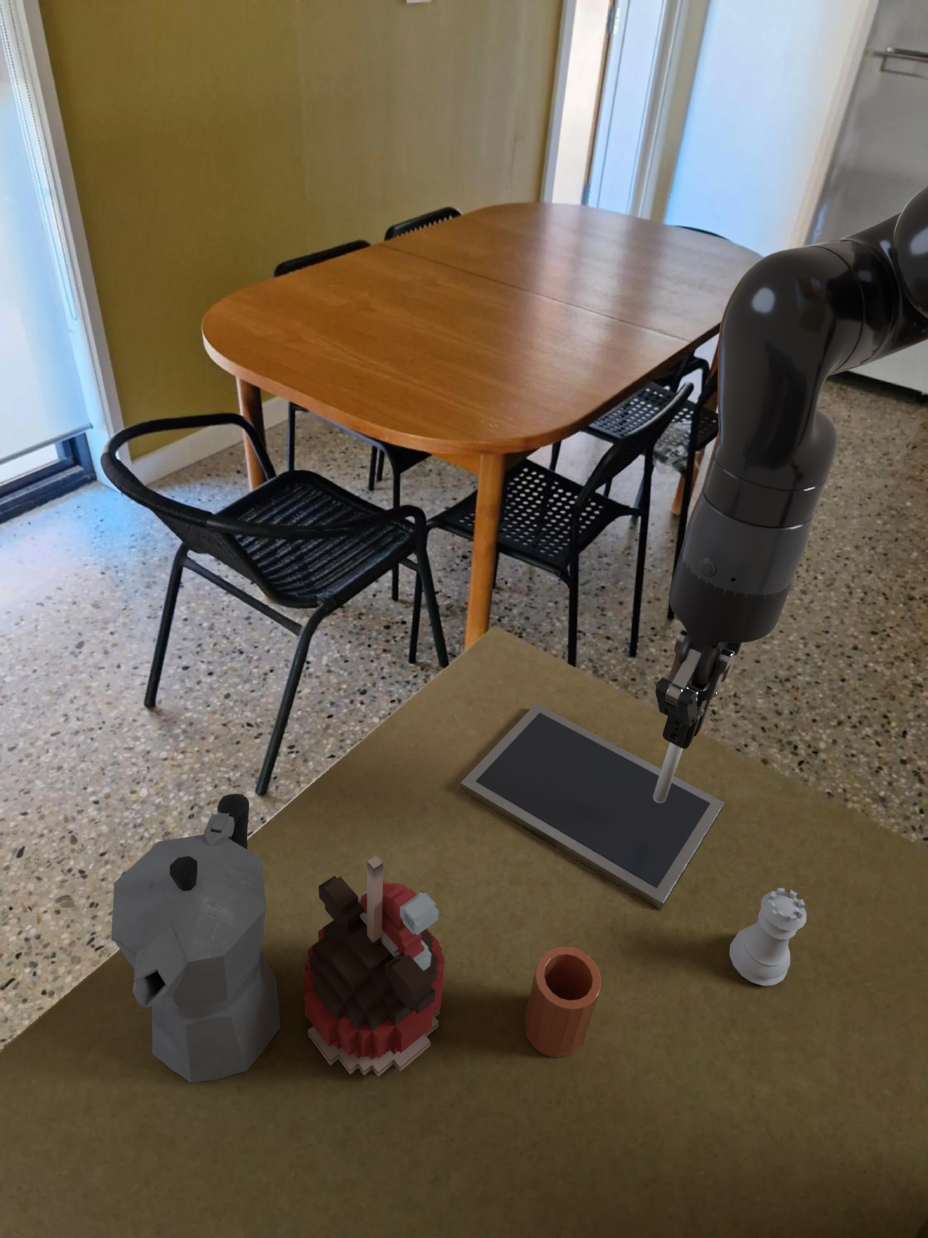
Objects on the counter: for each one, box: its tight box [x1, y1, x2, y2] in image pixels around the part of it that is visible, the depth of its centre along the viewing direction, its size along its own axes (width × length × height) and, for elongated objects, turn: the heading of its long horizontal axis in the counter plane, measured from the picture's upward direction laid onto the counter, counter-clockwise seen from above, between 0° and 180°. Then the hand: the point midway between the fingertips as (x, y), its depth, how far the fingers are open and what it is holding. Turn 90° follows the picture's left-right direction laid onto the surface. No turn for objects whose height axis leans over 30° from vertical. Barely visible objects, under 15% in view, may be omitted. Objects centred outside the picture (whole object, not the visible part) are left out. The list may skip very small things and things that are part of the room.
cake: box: [301, 854, 446, 1078], centre depth 58 cm, size 11×9×18 cm
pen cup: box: [523, 945, 602, 1059], centre depth 62 cm, size 4×4×7 cm
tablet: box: [459, 703, 725, 910], centre depth 80 cm, size 20×13×1 cm, turn 55°
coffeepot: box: [110, 793, 282, 1084], centre depth 58 cm, size 15×9×18 cm, turn 172°
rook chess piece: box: [729, 887, 807, 987], centre depth 66 cm, size 4×4×8 cm
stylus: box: [653, 697, 697, 803], centre depth 71 cm, size 1×1×13 cm
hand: (680, 735), depth 70 cm, fingers closed on stylus, 1 cm apart
